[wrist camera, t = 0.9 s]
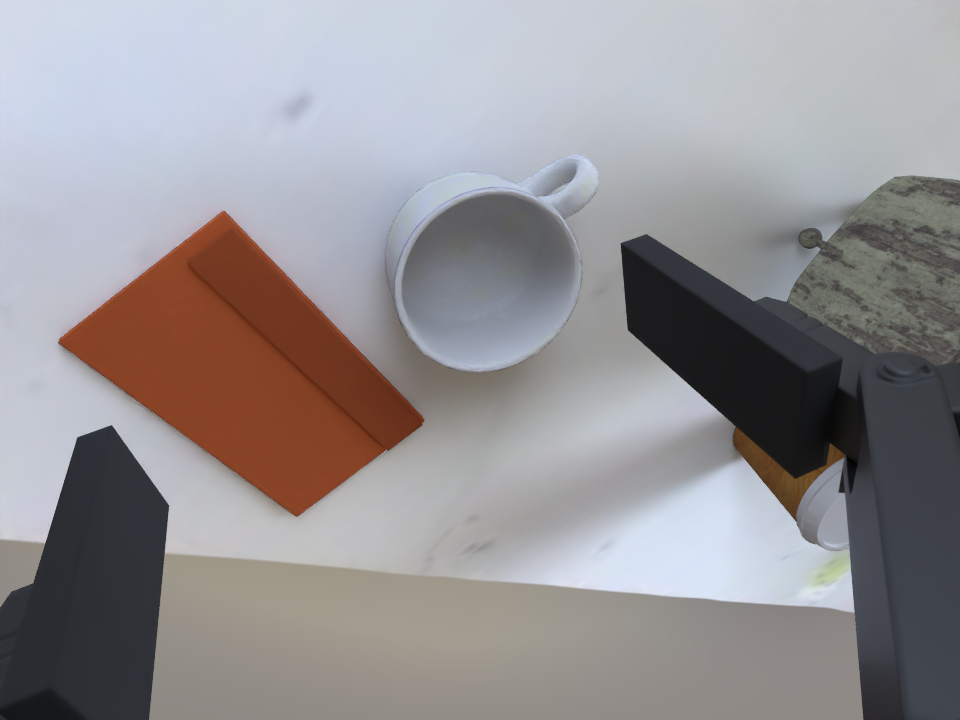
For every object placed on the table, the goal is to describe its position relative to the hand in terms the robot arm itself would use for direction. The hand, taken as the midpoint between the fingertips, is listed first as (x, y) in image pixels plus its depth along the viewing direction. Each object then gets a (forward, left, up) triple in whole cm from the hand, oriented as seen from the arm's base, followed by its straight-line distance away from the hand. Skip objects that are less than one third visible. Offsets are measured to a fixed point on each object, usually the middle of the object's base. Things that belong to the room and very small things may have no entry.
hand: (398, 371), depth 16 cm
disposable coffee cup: (+45, +18, -25) cm, 54 cm away
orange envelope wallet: (+10, -11, -24) cm, 29 cm away
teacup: (+10, +6, -25) cm, 27 cm away
